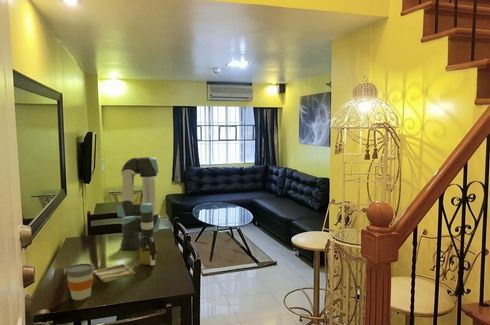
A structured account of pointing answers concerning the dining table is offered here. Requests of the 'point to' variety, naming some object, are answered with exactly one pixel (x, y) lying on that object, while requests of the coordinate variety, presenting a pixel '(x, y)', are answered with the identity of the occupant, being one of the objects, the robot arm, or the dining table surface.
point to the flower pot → (145, 255)
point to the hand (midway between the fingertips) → (148, 262)
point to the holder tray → (114, 272)
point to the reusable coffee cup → (80, 280)
